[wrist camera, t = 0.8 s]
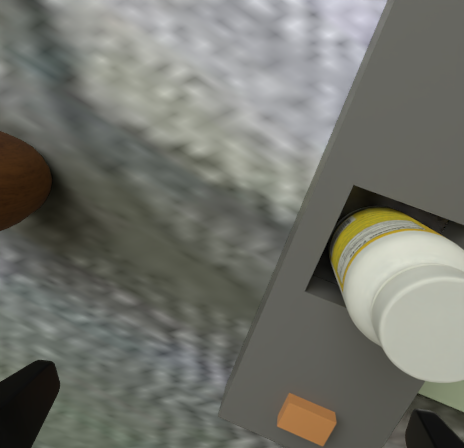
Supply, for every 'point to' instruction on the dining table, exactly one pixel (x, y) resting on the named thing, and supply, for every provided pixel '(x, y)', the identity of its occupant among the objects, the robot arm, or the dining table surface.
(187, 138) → the dining table surface
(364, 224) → the supplement bottle
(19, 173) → the wooden figurine
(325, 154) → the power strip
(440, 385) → the pad
